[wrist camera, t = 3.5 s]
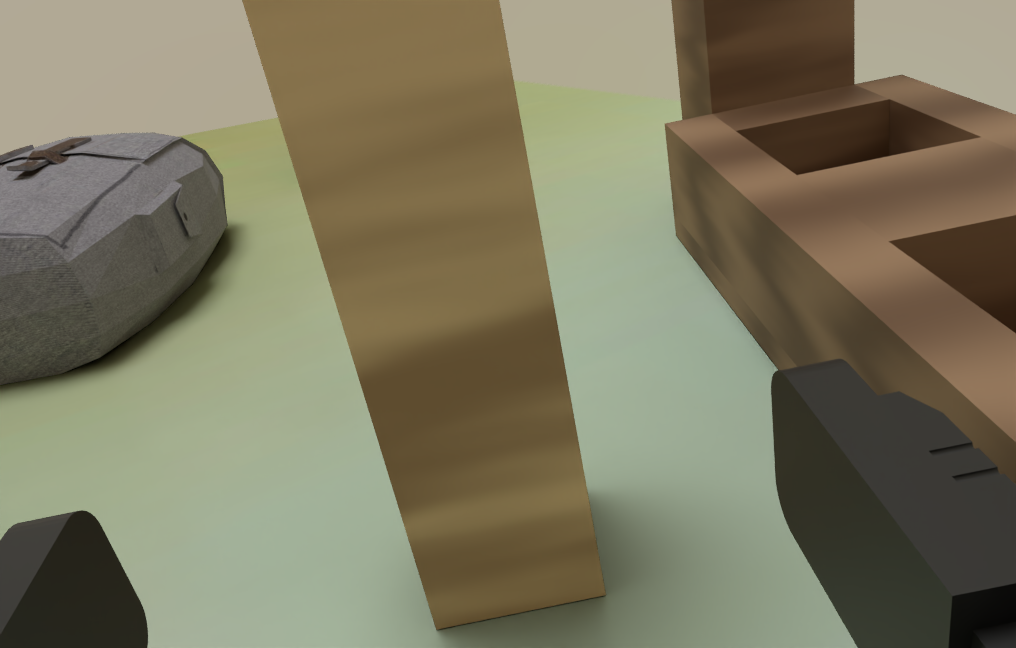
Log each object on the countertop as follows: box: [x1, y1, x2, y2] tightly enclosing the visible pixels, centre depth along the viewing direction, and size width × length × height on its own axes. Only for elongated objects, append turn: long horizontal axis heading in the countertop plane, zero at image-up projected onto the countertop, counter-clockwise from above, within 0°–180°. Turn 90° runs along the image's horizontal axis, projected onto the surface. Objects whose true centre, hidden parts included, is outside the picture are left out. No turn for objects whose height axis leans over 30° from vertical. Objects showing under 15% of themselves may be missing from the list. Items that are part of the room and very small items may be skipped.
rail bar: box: [242, 0, 606, 630], centre depth 18 cm, size 4×4×15 cm
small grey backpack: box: [0, 133, 227, 385], centre depth 43 cm, size 15×8×20 cm
